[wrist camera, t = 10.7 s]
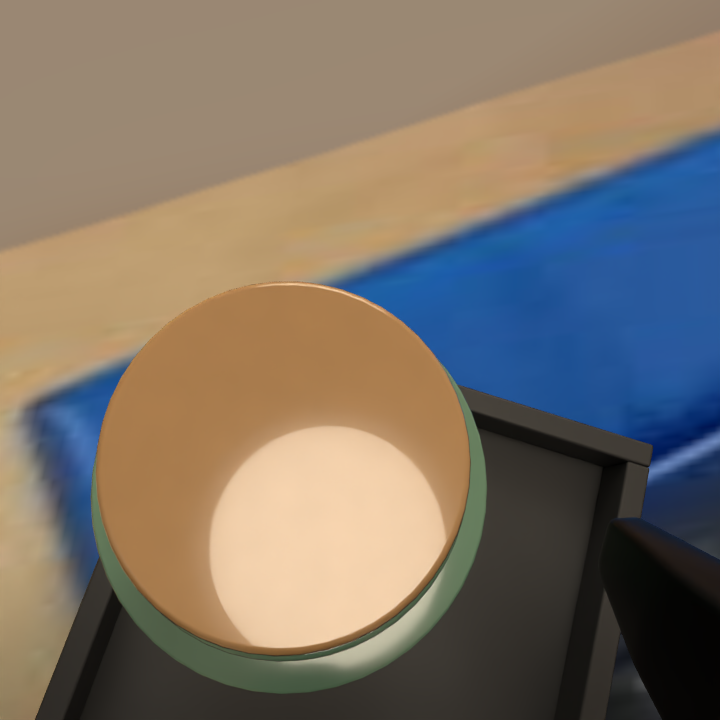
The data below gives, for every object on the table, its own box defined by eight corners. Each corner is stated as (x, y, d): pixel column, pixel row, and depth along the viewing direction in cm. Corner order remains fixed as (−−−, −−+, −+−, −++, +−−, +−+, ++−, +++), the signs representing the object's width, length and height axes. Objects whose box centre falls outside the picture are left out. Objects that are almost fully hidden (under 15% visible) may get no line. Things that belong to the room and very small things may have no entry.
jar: (368, 643, 17) (481, 840, 6) (170, 580, 17) (-101, 654, 6) (423, 444, 18) (599, 291, 7) (240, 388, 18) (132, 148, 7)
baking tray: (483, 1166, 15) (510, 1261, 13) (-48, 995, 15) (-102, 1063, 13) (620, 455, 19) (654, 444, 17) (209, 327, 19) (198, 303, 17)
